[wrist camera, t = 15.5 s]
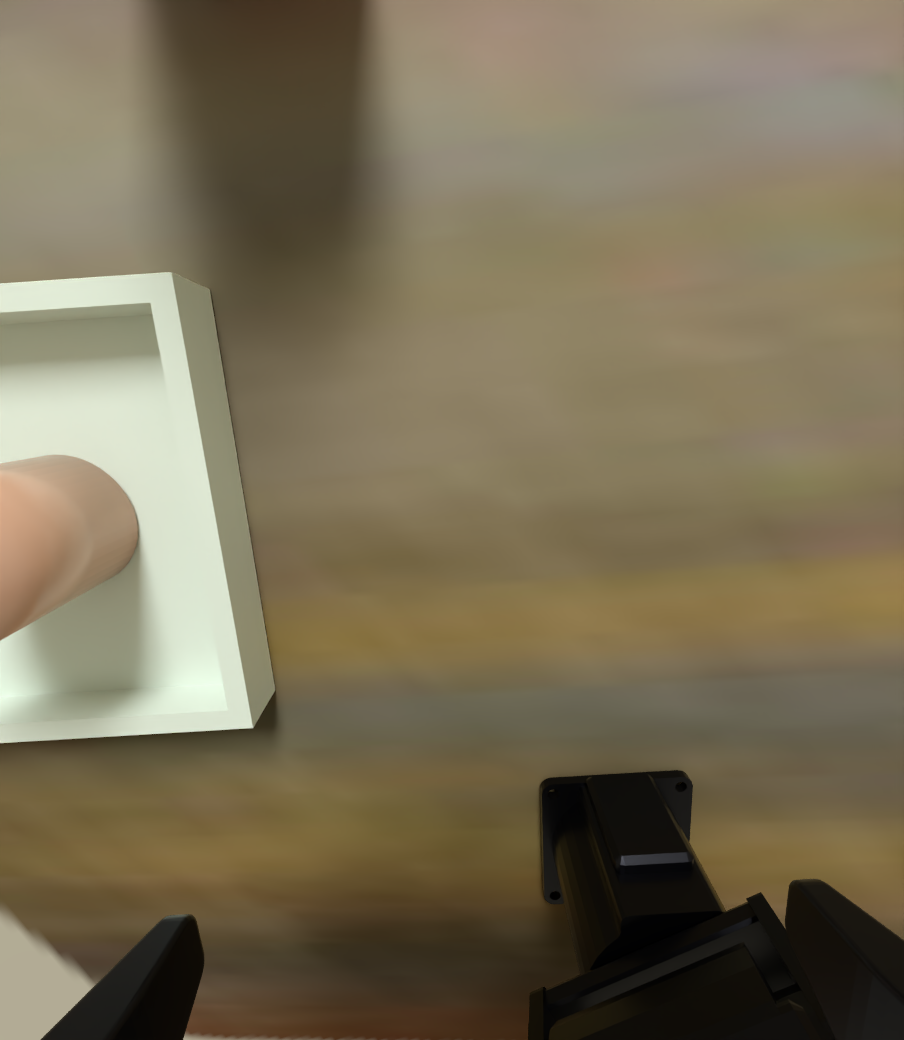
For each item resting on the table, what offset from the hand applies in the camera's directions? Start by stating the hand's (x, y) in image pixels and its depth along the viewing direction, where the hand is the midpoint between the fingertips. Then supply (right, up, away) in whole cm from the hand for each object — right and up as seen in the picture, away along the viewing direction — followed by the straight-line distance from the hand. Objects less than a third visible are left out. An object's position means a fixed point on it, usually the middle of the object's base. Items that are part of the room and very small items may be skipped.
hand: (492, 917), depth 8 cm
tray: (-15, +6, +12) cm, 20 cm away
